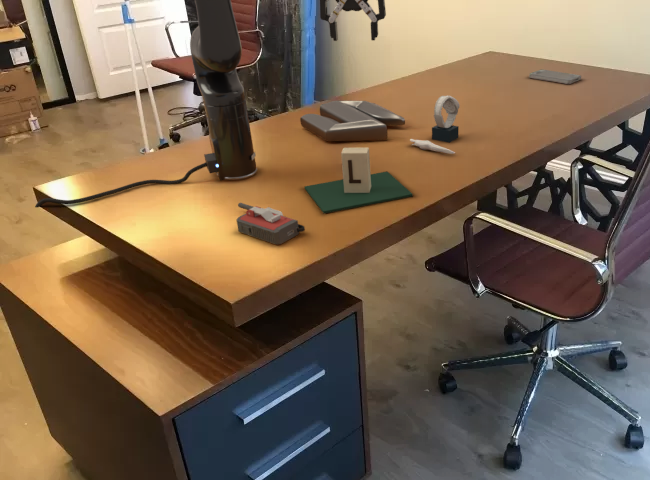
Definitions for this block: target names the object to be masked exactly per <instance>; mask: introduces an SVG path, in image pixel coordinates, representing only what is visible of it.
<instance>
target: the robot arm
mask: <svg viewBox="0 0 650 480" xmlns="http://www.w3.org/2000/svg"><path fill="white" fill-rule="evenodd" d="M328 1H330V0H319V16H320V17H319V18H320V20H322V21H325V22H327V23H328V24H329V36H330V38H331V39H333V42H338V41H339V33H338V22H337V19H338V17H339V15H340V13H341V12H342V10H343V11H344V12H351V11H354V12H360V11H363V12H364V13H365V15H366V16H367V17H368V18H369V19H370V21H371V22H370V39H371V41H376V38H378V36H379V21H381V20H384V19H385V18H386V16H387V12H386V11H387V10H386V0H377V5H378V6H377V7H378V13H376V12H375V11H374V9H373V7H372V6H371V4H369V2H368V1H369V0H335V2H336V3H337V5H336V6H335V7H334V9H333V11H332V12H331V14H329V13H328ZM194 4H195V7H196V8H195V9H196V14H197V21H198V26H197V27H195V29H194V30H193V31H192V33H191V36H190V38H189V50H190V56H191V60H192V65H193V70H194V73H195V74H194V75H195V79H196V83H197V87H198V89H199V91H200V94H201V97H202V101H203V106H204V111H205V116H206V122H207V128H208V132H209V133H208V138H209V142H210V149H211V153H205V154H203V157H204V160H205V162H203V163H201V164H198V165H196V166H194V167H193V168H191V169H189V170H188V171H187V172H186V174H185V175H184V176H183V177H182V178H180V179H175V180H165V179H145V180H140V181H137V182H133V183H129V184H126V185H123V186H120V187H117V188H114V189H109V190H106V191H103V192H100V193H99V192H98V193H96V194H93V195H89V196H84V197H81V198H75V199H68V200H67V199H58V198H52V197H46V198H42V199H40V200H39V201H38V202H37V203H36V204H35V206H34V208H40V207H42V205H44V204H47V203H54V204H59V205H76V204H81V203H85V202H90V201H93V200H97V199H101V198H104V197H107V196H110V195H114V194H117V193H120V192H123V191H127V190H130V189H133V188H137V187H140V186H145V185H153V184H154V185H155V184H157V185H179V184H182V183H184V182H186V181H187V180H188V179H189V178H190V176H191V175H193V173H195V172H198V171H199V170H201V169H204V168H206V169H207V171H208V172H209V174H216V176H217V178H218V179H219V181H221V182H222V181H240V180H245V179H248V178H249V179H250V178H251V177H253V176H255V175H256V174H258V167H257V162H256V155H257V154H256V151H255V150H254V144H253V137H252V132H251V124H250V119H249V112H248V105H247V100H246V94H245V93H246V92H245V88H244V86H243V84H242V83H241V81H240V77H239V76H238V72H237V67H238V65H240V62H241V58H242V53H243V52H242V51H243V48H242V43H241V42H242V41H241V38H240V34H239V30H238V26H237V21H236V18H235V14H234V13H235V12H234V10H233V9H234V8H233V5H232V0H194Z"/></svg>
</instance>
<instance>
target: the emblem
mask: <svg viewBox="0 0 650 480" xmlns="http://www.w3.org/2000/svg"><path fill="white" fill-rule="evenodd" d="M319 113H320V114H316V113H306V114H303V115H302V116H300V118H299V122H300V126H301V127H302V128H304V129H305V130H307V131H309V132H311V133H312V134H315V135H316V136H317V137H319V138H321V139H323V140H324V141H326V142H365V141H366V142H367V141H368V142H369V141H370V142H372V141H373V142H374V141H387V140H388V127H389V126H390V127H399V126H403V125H405V124H406V119H405V117H403V116H401V115H399V114H397V113H396V112H393V111H391V110H390V109H387V108H386V107H383V106H382V105H379V104H377V103H375V102H370V101H367V100H332V101H329V102H326V103H321V104H320V106H319ZM387 126H388V127H387Z"/></svg>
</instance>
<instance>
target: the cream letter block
mask: <svg viewBox="0 0 650 480" xmlns="http://www.w3.org/2000/svg"><path fill="white" fill-rule="evenodd" d="M340 156H341V169H342V180H343V181H344V193H369V192H370V189H371V174H372V173H371V160H370V159H371V158H370V147H343V148H342V150H341V153H340Z"/></svg>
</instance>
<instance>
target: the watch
mask: <svg viewBox="0 0 650 480" xmlns="http://www.w3.org/2000/svg"><path fill="white" fill-rule="evenodd" d="M460 106H461V105H460V103H459V101H458V100H457V98H455V97H453V96H451V95H441V96H439V97H438V98H437V100H436V101H435V105H434V110H433V119H434V122H435V125H434V126H432V127H431V140H433V141H439V142H445V143H452V142H454V141H456V140H457V139H459V126H458V125H454V123H455V120H456V117H457V115H458V113H459V109H460ZM443 109H444V110H445V113H446V114H447V117H446V119H445V121H444V117H443V115H442V111H443Z"/></svg>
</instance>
